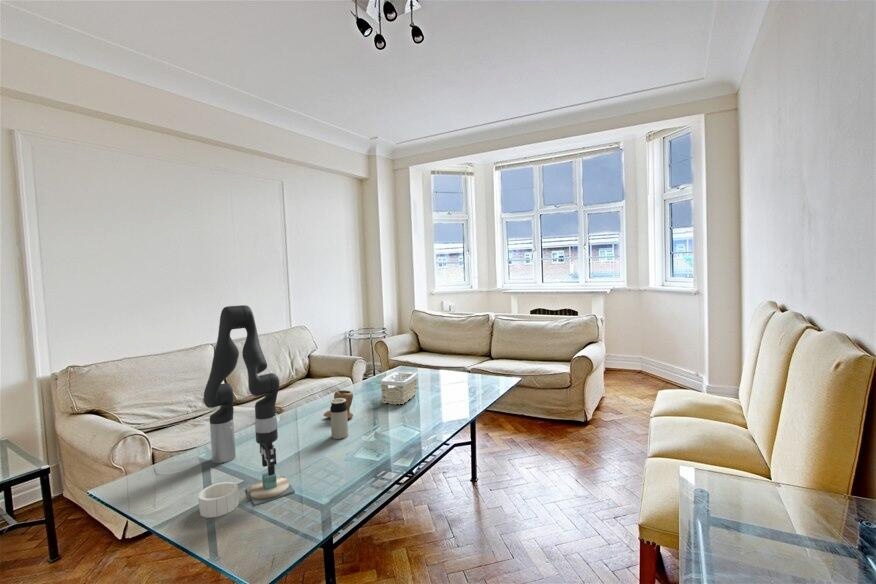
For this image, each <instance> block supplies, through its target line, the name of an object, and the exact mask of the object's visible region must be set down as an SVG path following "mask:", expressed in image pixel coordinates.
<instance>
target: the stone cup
mask: <svg viewBox="0 0 876 584" xmlns="http://www.w3.org/2000/svg"><path fill="white" fill-rule="evenodd" d="M336 398H344V399H346V402H345V404H346V405H347V419H348V420H349V419H352V418H353V417H354V414H353V413H352V412H351V410H350V409H351V405H352V403H353V399H354V394H353V392H352V391H351V390H345V389H343V390H342V389H337V390H336V391H335V392H334V396H333V399H336ZM323 416H324V417H326V418H328V419H329V418H330V419H331V414H330V410H328V411H326V412H324V413H323Z"/></svg>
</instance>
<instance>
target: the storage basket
mask: <svg viewBox="0 0 876 584" xmlns="http://www.w3.org/2000/svg"><path fill="white" fill-rule="evenodd" d="M403 377H405V378H403ZM417 381H418V372H417V371H415V372H411V371H395V372H393V373H391V374H389V375H387V376H385V377H383V378H382V379H381V380H380V381H379V382H380V383H379V384H380V390H381V399H382V404H386V403H389V404H388V405H397V404H399V405H400V404H403V405H404V403H405V402H406V403H407V402H408V400H409V399H410V400H411V399H412V398H414V397H415V396H416V395H417V386H418V385H417ZM415 394H416V395H415ZM414 395H415V396H414ZM410 400H409V401H410ZM406 403H405V404H406Z"/></svg>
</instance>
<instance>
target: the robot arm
mask: <svg viewBox="0 0 876 584" xmlns="http://www.w3.org/2000/svg"><path fill="white" fill-rule="evenodd" d="M240 329H245V330H246V338H245V341H244V344H243V347H242V351H241V353H242V355H241V356H242V359H243V361H244V364H245V367H246V371H247V378H248V379H247V381H248V385H247V387H248V391H249V393H250V394H251V395H252V396H254V397H259V396H263V395H265V396H264V397H263V398H261V399H260V400H258V401H256V402H255V403H254V404H255V405H254V414H255V421H254V429H255V442H256V443H257V444H258V445H259V453H260V456H261V462H262V464H261V466H262V467H264V468H266V467H267V473H268V475H269V476H271V475H274V474H276V473H275V472H276V471H275V470H276V468H275V466H276V465H277V463H278V462H277V453H276V451H277V449H276V448H275V445H274V444H273V443H274V442H276V441H277V440H278V436H279V435H278V420H277V410H276V409H277V408H276V403H277V397H278V393H279V389H280V379H279V376H278V375H277V373H272V372H271V373H266V374H265V373H264V374H261V373H262V372H264V371H266V369H267V368H268V363H267V360H266V357H265V355H264V352H263V350H262V347H261V344H260V340H259V335H258V330H257V326H256V321H255V317H254V314H253V310H252V308H251V307H250V306H249V305H245V304H244V305H228V306H225V307H223V308H222V310H221V313H220V316H219V325H218V333H217V334H218V335H217V340H216V344H215V349H214V351H213V352H214V353H213V358H212V363H211V368H210V372H209V377H208V380H207V383H206V385H205V388H204V392H203V403H204V406H205V407H206V408H211V409H212V408H218V407H219V408H218V409H217V410H216V411H215V412H213V413H211V414H210V416H209V430H210V432H209V433H210V444H211V459H212V460H211V461H212V462H213V463H214V464H222V463H221V462H224V463H227V462H230V461H233V460H234V459H235V458H236V440H235V438H236V437H235V425H234V409H235V408H234V390H233V387H232V385H231V384H230V383H229V382H224V381H225V380H226V379H227V378H228V377H229V376H230V375H231V374H232V372H233V371H234V370H235V368H236V366H237V363H238V359H239V356H240V352H239V349H238V346H237V345H236V344H235V343H234V341H233V339H232V338H231V332H232V331H233V330H240ZM259 374H261V375H259ZM223 382H224V383H223ZM271 460H272V461H271Z"/></svg>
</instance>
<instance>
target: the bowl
mask: <svg viewBox="0 0 876 584" xmlns="http://www.w3.org/2000/svg"><path fill="white" fill-rule="evenodd" d="M197 496H198V508H199V509H198V510H199V515H200V516H201V517H203V518H206V519H207V518H218V517H221V516H223V515H227V514H230V513H231V512H232V511H234V510H235V509H237V507H238V505H239V504H240V495H239V486H238V484H237V483H236V482H234V481H233V482H232V481H222V482H218V483H217V482H216V483H214V484H211V485H208V486H206V487H205V488H203V489H202V490H201V491H200V492H199V493H198V495H197Z"/></svg>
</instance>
